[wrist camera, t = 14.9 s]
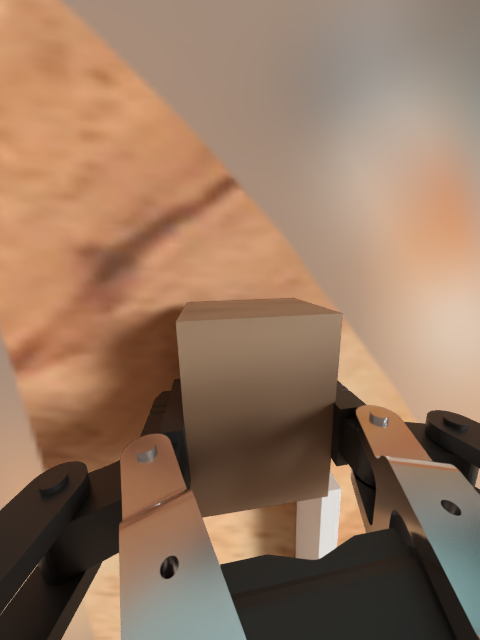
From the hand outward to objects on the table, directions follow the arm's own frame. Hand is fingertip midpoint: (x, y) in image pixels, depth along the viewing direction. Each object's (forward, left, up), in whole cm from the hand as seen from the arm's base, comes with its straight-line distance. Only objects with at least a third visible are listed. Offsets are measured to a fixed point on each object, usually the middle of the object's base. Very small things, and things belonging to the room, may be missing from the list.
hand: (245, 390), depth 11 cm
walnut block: (+1, 0, -1) cm, 1 cm away
